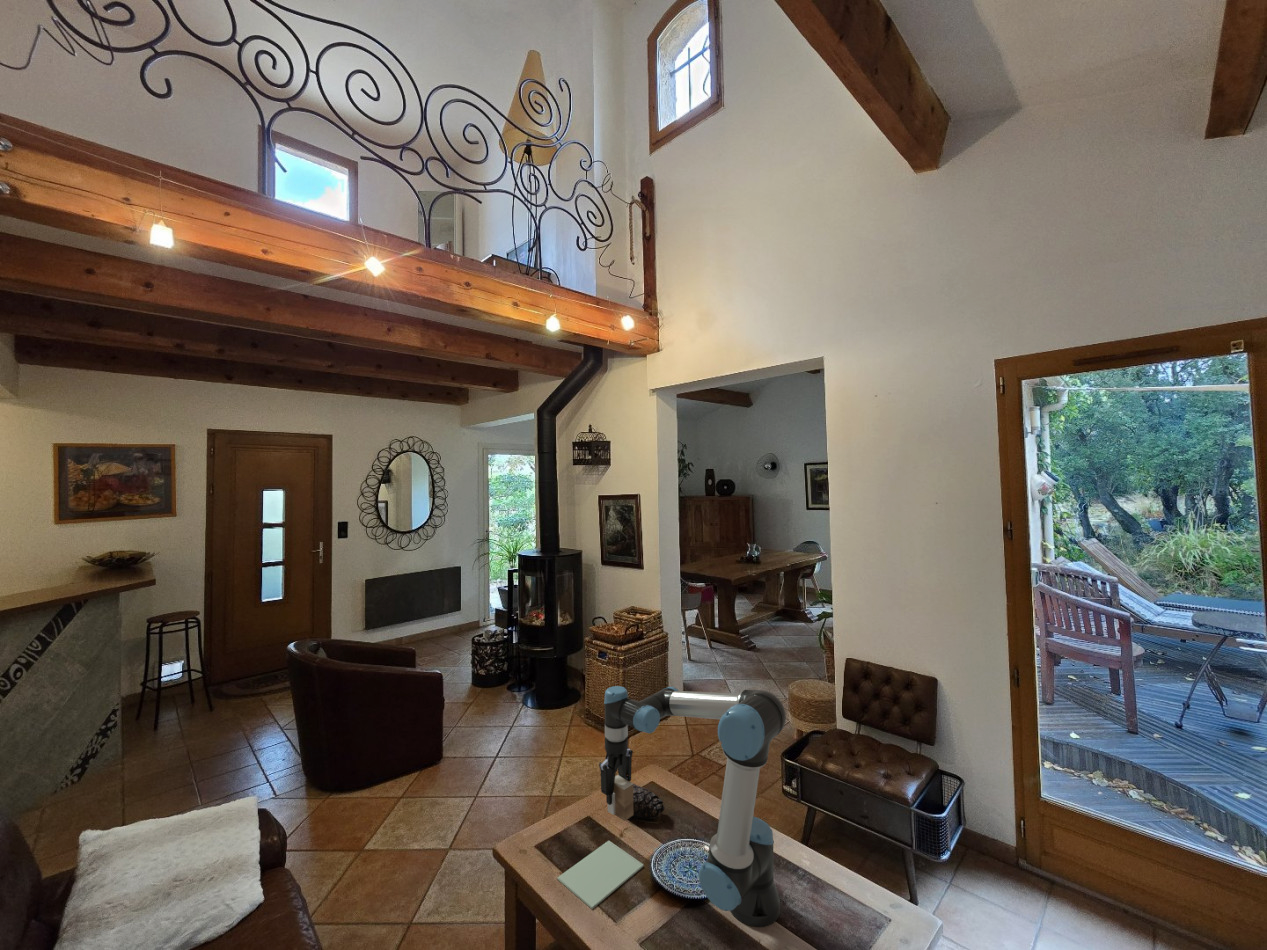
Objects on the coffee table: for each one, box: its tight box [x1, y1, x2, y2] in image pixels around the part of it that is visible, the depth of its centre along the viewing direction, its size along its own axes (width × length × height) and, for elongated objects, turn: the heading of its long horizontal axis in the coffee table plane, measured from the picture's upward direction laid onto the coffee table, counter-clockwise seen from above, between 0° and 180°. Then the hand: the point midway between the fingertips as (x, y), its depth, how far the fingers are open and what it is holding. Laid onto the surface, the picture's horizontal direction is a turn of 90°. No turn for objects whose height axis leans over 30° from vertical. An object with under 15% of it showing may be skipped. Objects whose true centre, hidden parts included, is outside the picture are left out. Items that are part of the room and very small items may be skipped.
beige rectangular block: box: [613, 774, 633, 822], centre depth 162 cm, size 7×4×10 cm, turn 46°
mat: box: [556, 840, 644, 910], centre depth 158 cm, size 16×22×1 cm
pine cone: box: [627, 782, 665, 824], centre depth 186 cm, size 10×18×10 cm, turn 76°
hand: (616, 809), depth 163 cm, fingers closed on beige rectangular block, 4 cm apart
